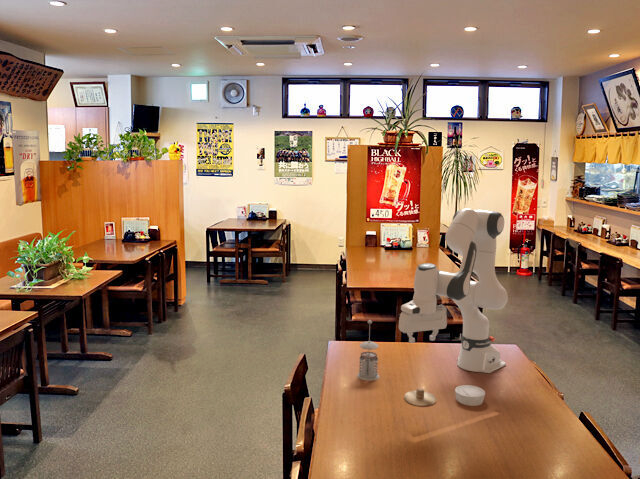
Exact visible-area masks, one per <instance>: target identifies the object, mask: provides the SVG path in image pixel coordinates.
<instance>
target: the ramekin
mask: <svg viewBox="0 0 640 479" xmlns="http://www.w3.org/2000/svg"><path fill="white" fill-rule="evenodd" d="M454 394H455V399H456V401H457V402H458V403H460V404H462V405H465V406H470V407H476V406H481V405H482V404H483V403H484V400H485V396H486V391H485V390H484V389H483V388H481V387H479V386H477V385H471V384H462V385H458V386H456V387H455V388H454Z"/></svg>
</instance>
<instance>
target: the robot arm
mask: <svg viewBox="0 0 640 479" xmlns="http://www.w3.org/2000/svg"><path fill="white" fill-rule="evenodd" d="M504 227H505V218H504V216H503V214H502V213H501V212H499V211H495V210H493V211H492V210H487V209H473V208H466V207H465V208H462V209H459V210H457V211H455V213H454V214H453V217H452V221H451V222H450V225H449V226H448V228H447V230H446V233H445V238H444V239H445V242H446V245H447V247H448V248H449V249H450V250H451V251H453V252H454V253H456V254H458V255H460V256H461V257H462V258H461V264H460V267H459V270H458V271H456V272H450V271H446V270H445V271H444V270H440V269H438V266H437V265H436V264H433V263H431V262H429V263H428V262H427V263H420V264H419V265H417V266H416V269H415V273H414V280H413V291H414V293H413V297H412V300H410V301H409V302H406V303H404V304H402V305H401V306H400V310H401V313H400V314H399V318H398V319H399V320H398V329H399V331H400V332H402V333H403V334H407V337H408V343H410V344H415V343H416V339H415V337H413V335H414V333H417V332H426V331H432V333H431V334H429V341H432V342H433V341H435V340H436V336H437V335H438V333H439V330H443V329H447V325H448V317H447V310H448V308H447V307H446V306H445V305H444V304H439V305H438V304H437V301H438V300H437V296H440V297H445V298H449V299H451V300H452V301H453V302H454V303H455V304H456V306H458V308H459V310H460V313H461V317H462V334H461V338H460V339H461V340H460V341H461V344H460V348H459V354H458V357H457V363H456V364H457V366H458V367H459V368H461V369H462V370H464V371H468V372H469V371H470V372H476V373H486V374H490V373H493V372H494V371H496V370H498V369H500V368H504V367H505V366H506V362H505V361H504V360H502V359H501V353H500V351H499V350H498V349H497V348H496V347H495V346H494V345H492V344H491V342H495V340H496V338H495V337H494V336H491V335H490V336H489V328H490V322H489V318H488V317H487V316H486V315H484V314H483V313H482V312H481V311H480V309H479V308H483V309H488V310H502V309H503V308H504V307H505V306H506V305H507V303H508V298H509V296H508V295H509V294H508V292H507V290H506V288H505V287H504V286H502V284H501V283H500V281H499V280H498V277H497V274H496V269H495V267H496V266H495V265H496V256H497V254H496V253H497V237H498V236H499V235H501V233H502V232H503V231H504ZM473 273H474V274H475V275H476V276H477V277H478V281H475V280H472V274H473Z"/></svg>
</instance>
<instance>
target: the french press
mask: <svg viewBox="0 0 640 479" xmlns="http://www.w3.org/2000/svg"><path fill="white" fill-rule="evenodd" d="M367 324H373V320H371V319H369V320H367ZM368 331H369V332H368V336H369V337H368V341H364V342H361V343H360V344H359V347H360V348H361V349H363V350H368V351H362V352H361V353H360V356H359V365H358V368H359V369H358V371H359V372H358V373H357V374H356V377H357V378H358V379H360V380H362V381H367V382H368V381H371V382H372V381H377V380H379V379H380V375H379V374H378V365H379V358H378V357H377V356H378V354H377V353H376V352H373V350H377V349H378V348H379V344H378V343H376V342H375V341H371V339H370V337H371V325H369V329H368Z"/></svg>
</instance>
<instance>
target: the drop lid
mask: <svg viewBox="0 0 640 479" xmlns="http://www.w3.org/2000/svg"><path fill="white" fill-rule="evenodd" d="M403 399H404V400H405V402H406V403H408V404H410V405H413V406H417V407H428V406H432V405H434V404H436V402H437V398H436V396H435V395H434V394H433V393H431V392H428V391H425V389H424V388H420V387H419V388H416V389H415V390H410V391H408V392H406V393H405V394H404V398H403Z"/></svg>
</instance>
